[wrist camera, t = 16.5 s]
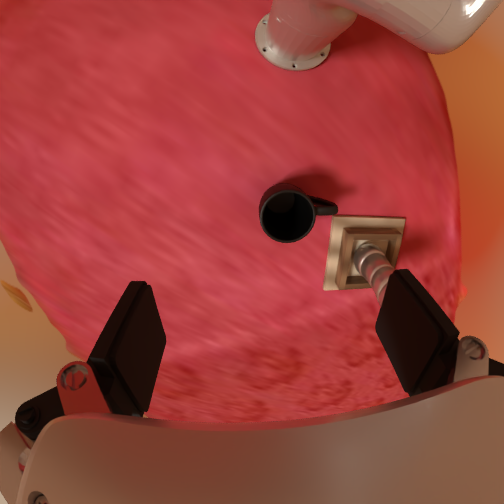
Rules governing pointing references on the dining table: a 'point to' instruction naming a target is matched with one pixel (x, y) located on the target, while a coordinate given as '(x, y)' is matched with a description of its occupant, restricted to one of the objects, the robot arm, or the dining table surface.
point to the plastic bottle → (373, 268)
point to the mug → (291, 212)
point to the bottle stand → (350, 239)
